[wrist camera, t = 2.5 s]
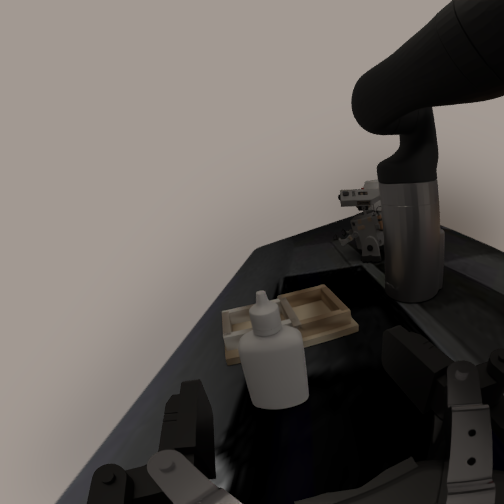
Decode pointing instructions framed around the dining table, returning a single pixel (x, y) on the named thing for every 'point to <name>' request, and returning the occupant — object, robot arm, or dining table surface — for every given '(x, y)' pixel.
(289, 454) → the dining table surface
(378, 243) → the figurine
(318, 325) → the wooden compartment tray
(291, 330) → the eye dropper bottle
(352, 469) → the dining table surface
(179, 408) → the robot arm
